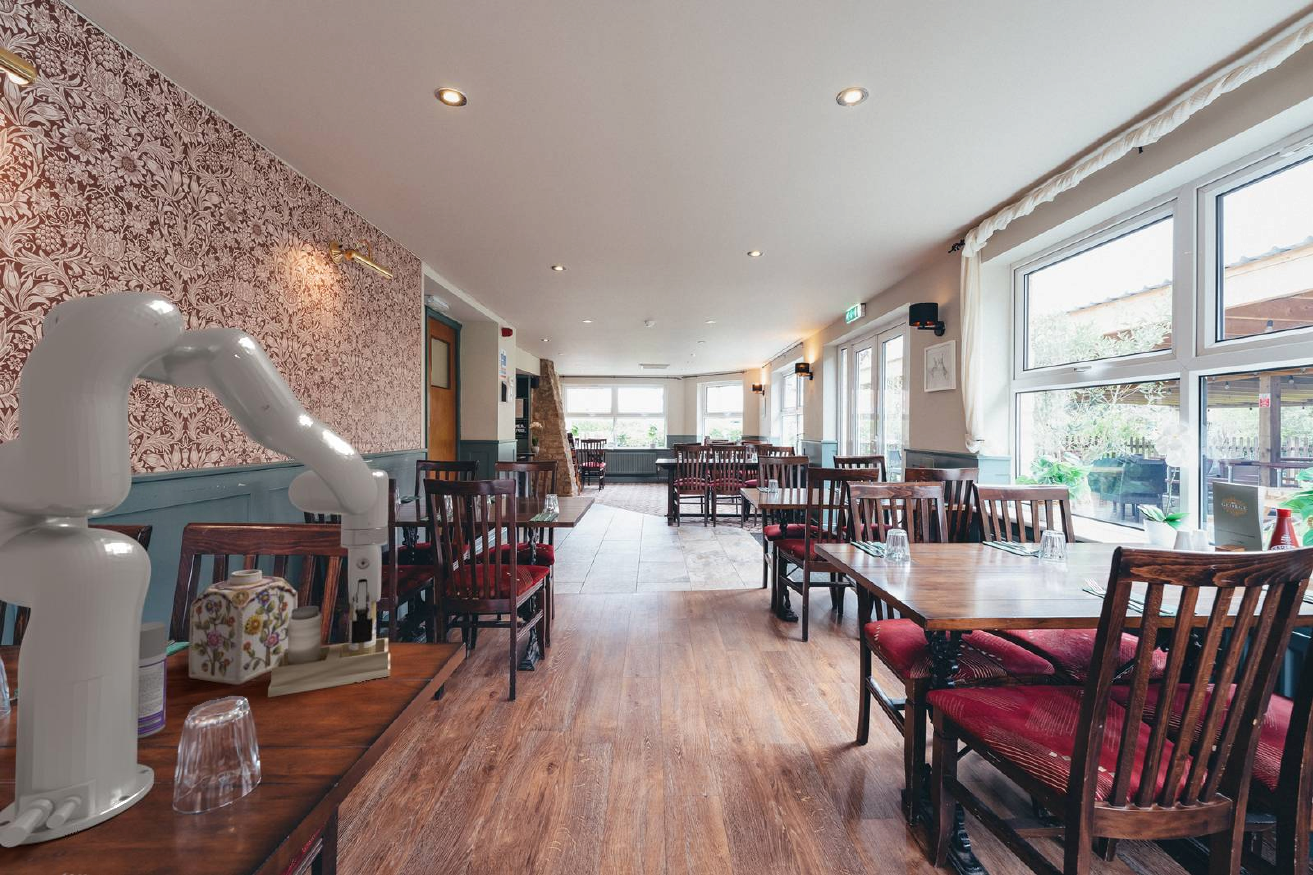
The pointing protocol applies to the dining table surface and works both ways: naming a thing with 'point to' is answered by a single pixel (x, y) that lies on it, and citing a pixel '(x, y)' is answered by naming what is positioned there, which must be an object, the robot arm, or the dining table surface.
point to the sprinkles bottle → (364, 646)
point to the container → (152, 678)
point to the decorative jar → (239, 627)
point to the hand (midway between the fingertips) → (362, 636)
